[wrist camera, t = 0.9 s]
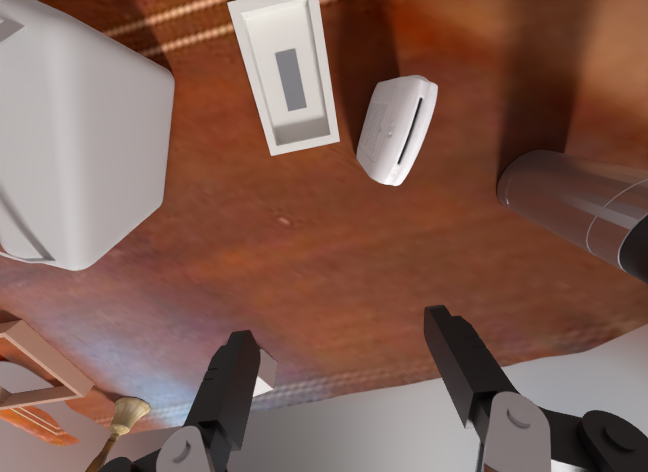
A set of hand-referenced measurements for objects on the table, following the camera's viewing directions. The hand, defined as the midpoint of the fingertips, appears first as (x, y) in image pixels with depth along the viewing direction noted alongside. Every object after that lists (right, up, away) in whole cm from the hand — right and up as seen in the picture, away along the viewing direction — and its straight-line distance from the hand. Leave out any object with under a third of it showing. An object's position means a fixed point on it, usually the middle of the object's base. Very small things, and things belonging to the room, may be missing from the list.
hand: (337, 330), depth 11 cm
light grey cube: (-16, -24, +45) cm, 53 cm away
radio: (-25, +18, +21) cm, 37 cm away
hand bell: (-50, -39, +52) cm, 82 cm away
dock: (-4, +23, +19) cm, 30 cm away
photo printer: (+7, +19, +22) cm, 30 cm away
